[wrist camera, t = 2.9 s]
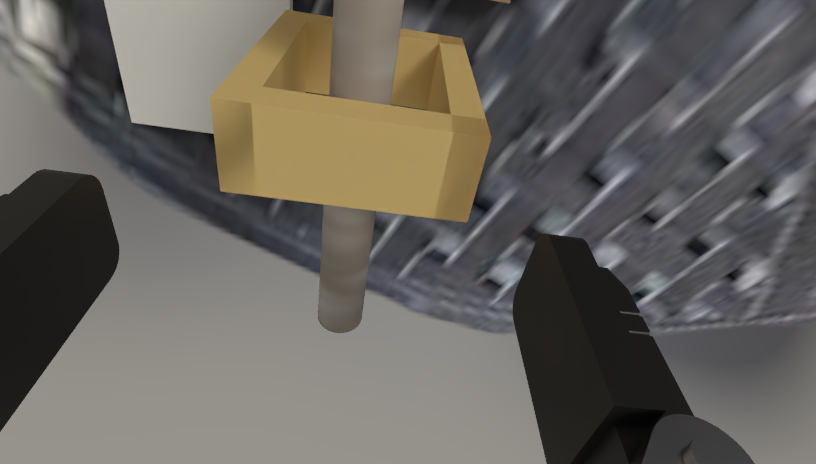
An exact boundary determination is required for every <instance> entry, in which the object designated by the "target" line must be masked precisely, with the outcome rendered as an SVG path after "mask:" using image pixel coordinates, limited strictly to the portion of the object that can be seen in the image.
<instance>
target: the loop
mask: <svg viewBox="0 0 816 464" xmlns="http://www.w3.org/2000/svg"><path fill="white" fill-rule="evenodd" d="M332 27H333V17H329V16H322V15H316V14H310V13H304V12H298V11H292V10H285V11H284V13H283V14H282V15H281V16H280V17H279V18H278V19H277V21H276V22H275V23H274V24H273V25H272V26H271V27H270V29H269V30H268V31H267V32H266V33H265V34H264V36H263V37H262V38H261V39H260V40H259V41H258V42H257V44H256V45H255V46H254V47H253V48H252V49H251V50H250V52H249V53H248V54H247V55H246V56H245V57H244V58H243V60H242V61H241V62H240V63H239V64H238V65H237V67H236V68H235V69H234V70H233V71H232V72H231V73H230V75H229V76H228V77H227V78H226V79H225V80H224V81H223V83H222V84H221V85H220V86H219V87H218V88H217V89H216V91H215V92H214V93H213V94H212V95H211V96H210V105H211V113H212V122H213V131H214V140H215V149H216V158H217V166H218V175H219V184H220V191H222V192H230V193H237V194H245V195H253V196H261V197H269V198H277V199H285V200H293V201H301V202H308V203H316V204H324V205H332V206H340V207H348V208H356V209H364V210H371V211H379V212H387V213H395V214H403V215H411V216H419V217H427V218H435V219H442V220H450V221H458V222H466V223H467V221H468V218H469V214H470V211H471V207H472V204H473V200H474V197H475V193H476V190H477V186H478V183H479V180H480V176H481V173H482V169H483V166H484V162H485V159H486V155H487V152H488V148H489V145H490V141H491V134H490V131H489V128H488V124H487V121H486V117H485V114H484V111H483V107H482V104H481V100H480V97H479V94H478V90H477V87H476V83H475V80H474V77H473V73H472V70H471V66H470V63H469V60H468V56H467V53H466V49H465V46H464V43H463V39H462V38H458V37H452V36H446V35H440V34H433V33H427V32H421V31H415V30H409V29H403V28H401V29H400V37H399V44H398V52H397V59H396V66H395V74H394V81H393V89H392V96H391V103H390V104H393V105H399V106H406V107H413V108H420V109H427V111H425V110H418V109H411V108H405V107H398V106H391V105H384V104H377V103H371V102H364V101H357V100H350V99H344V98H337V97H330V96H323V95H316V94H310V93H305V92H311V93H318V94H325V95H329V87H330V67H331V47H332Z"/></svg>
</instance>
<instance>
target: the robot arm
mask: <svg viewBox="0 0 816 464" xmlns="http://www.w3.org/2000/svg"><path fill="white" fill-rule="evenodd" d="M118 259H119V244H118V240H117V236H116V233H115V229H114V226H113V222H112V219H111V216H110V212H109V209H108V205H107V202H106V199H105V195H104V191H103V188H102V186H101V183H100V181H99V180H98V179H97V178H96V177H95V176H92V175H86V174H78V173H70V172H63V171H55V170H47V169H44V170H39V171H37V172H36V173H34V174H33V175H32V176H30V177H29V178H28V179H27V180H25V181H24V182H23V183H22V184H21V185H20V186H18V187H17V188H16V189H14V190H13V191H12V192H11V193H10V194H4V195H2V196H0V431H1V430H2V429H3V427H4V426H5V424H6V423H7V421H8V420H9V419H10V417H11V416H12V415H13V413H14V412H15V410H16V409H17V408H18V406H19V405H20V404H21V402H22V401H23V399H24V398H25V397H26V395H27V394H28V393H29V391H30V390H31V388H32V387H33V386H34V384H35V383H36V381H37V380H38V378H39V377H40V376H41V375H42V373H43V372H44V370H45V369H46V367H47V366H48V365H49V363H50V362H51V361H52V359H53V358H54V357H55V355H56V354H57V352H58V351H59V349H60V348H61V347H62V345H63V344H64V343H65V341H66V340H67V339H68V337H69V336H70V334H71V333H72V332H73V330H74V329H75V327H76V326H77V324H78V323H79V322H80V320H81V319H82V318H83V316H84V315H85V314H86V312H87V311H88V309H89V308H90V307H91V305H92V304H93V302H94V301H95V300H96V298H97V297H98V296H99V294H100V293H101V291H102V290H103V289H104V287H105V286H106V284H107V283H108V282H109V280H110V279H111V277H112V276H113V274H114V272H115V270H116V267H117V263H118ZM639 313H640V311H639V309H638V308H637V306H636V304H635V302H634V300H633V298H632V296H631V294H630V292H629V290H628V289H627V288H626V287H625V286H624V285H623V284H622V283H621V282H620V281H619V280H618V279H617V278H616V277H615V276H614V275H613V274H612V273H611V272H610V270H609V269H608V268H602V267H598V265H597V263H596V261H595V259H594V257H593V254H592V252H591V250H590V248H589V246H588V244H587V242H586V241H585V240H584V239H582V238H575V237H567V236H559V235H551V234H542V235H541V236H540V237H539V238H538V240H537V241H536V244H535V246H534V248H533V251H532V253H531V255H530V258H529V260H528V263H527V265H526V267H525V270H524V272H523V275H522V277H521V279H520V282H519V284H518V287H517V289H516V292H515V296H514V302H513V320H514V325H515V329H516V333H517V338H518V342H519V346H520V350H521V355H522V359H523V363H524V367H525V371H526V376H527V380H528V385H529V389H530V393H531V398H532V402H533V406H534V410H535V415H536V419H537V423H538V428H539V432H540V436H541V440H542V445H543V449H544V453H545V457H546V462H547V464H755V463H754V462H753V461H752V459H751V458H750V457H749V455H748V454H747V453H746V452H745V451H744V449H743V448H742V447H741V446H740V445H739V444H738V443H737V442H736V441H734V440H733V439H732V438H731V437H730V436H729V435H727V434H726V433H725V432H723V431H722V430H720V429H719V428H718V427H716V426H714V425H712V424H711V423H709V422H707V421H704V420H702V419H700V418H697V417H695V416H694V415H693V413H692V411H691V409H690V407H689V405H688V403H687V402H686V400H685V398H684V396H683V394H682V392H681V390H680V388H679V386H678V384H677V382H676V380H675V379H674V377H673V375H672V373H671V371H670V369H669V367H668V365H667V363H666V361H665V360H664V357H663V356H662V354H661V352H660V350H659V348H658V346H657V344H656V342H655V340H654V338H653V336H650V335H649V332H650V331H649V329H648V327H647V325H646V323H645V321H644V319H643V317H641V316H639Z"/></svg>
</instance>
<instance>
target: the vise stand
mask: <svg viewBox="0 0 816 464" xmlns="http://www.w3.org/2000/svg"><path fill="white" fill-rule="evenodd" d="M491 1H497V2H503V3H509V4H510V1H511V0H491ZM403 7H404V0H334V7H333V27H332V47H331V67H330V87H329V96H330V97H337V98H344V99H350V100H357V101H364V102H371V103H377V104H384V105H390V103H391V96H392V89H393V81H394V74H395V66H396V59H397V52H398V44H399V37H400V29H401V22H402V15H403ZM375 214H376V211H371V210H364V209H356V208H348V207H340V206H332V205H324V207H323V227H322V247H321V267H320V289H319V307H318V319H319V322H320V324H321V325H322V326H323V327H324V328H325V329H327V330H329V331H331V332H335V333H344V332H349V331H351V330H353V329H355V328H356V327H357V326H358V325H359V324H360V322H361V318H362V310H363V303H364V296H365V288H366V281H367V274H368V266H369V259H370V251H371V244H372V237H373V229H374V222H375Z"/></svg>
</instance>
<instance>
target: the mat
mask: <svg viewBox="0 0 816 464" xmlns="http://www.w3.org/2000/svg"><path fill="white" fill-rule="evenodd" d="M104 3H105V7H106V12H107V16H108V21H109V25H110V29H111V34H112V38H113V43H114V47H115V51H116V56H117V60H118V65H119V69H120V73H121V78H122V82H123V87H124V91H125V95H126V100H127V104H128V109H129V113H130V117H131V122H132V123H138V124H146V125H153V126H160V127H167V128H175V129H182V130H189V131H197V132H204V133H211V134H214V131H213V122H212V113H211V105H210V96H211V95H212V94H213V93H214V92H215V91H216V89H217V88H218V87H219V86H220V85H221V84H222V83H223V81H224V80H225V79H226V78H227V77H228V76H229V75H230V73H231V72H232V71H233V70H234V69H235V68H236V67H237V65H238V64H239V63H240V62H241V61H242V60H243V58H244V57H245V56H246V55H247V54H248V53H249V52H250V50H251V49H252V48H253V47H254V46H255V45H256V44H257V42H258V41H259V40H260V39H261V38H262V37H263V36H264V34H265V33H266V32H267V31H268V30H269V29H270V27H271V26H272V25H273V24H274V23H275V22H276V21H277V19H278V18H279V17H280V16H281V15H282V14H283V13H284V11H285V10H292V11H293V0H104Z"/></svg>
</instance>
